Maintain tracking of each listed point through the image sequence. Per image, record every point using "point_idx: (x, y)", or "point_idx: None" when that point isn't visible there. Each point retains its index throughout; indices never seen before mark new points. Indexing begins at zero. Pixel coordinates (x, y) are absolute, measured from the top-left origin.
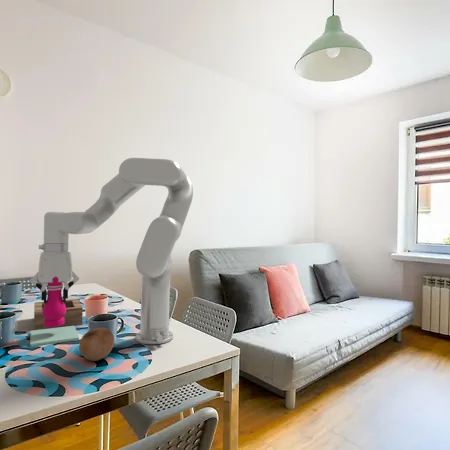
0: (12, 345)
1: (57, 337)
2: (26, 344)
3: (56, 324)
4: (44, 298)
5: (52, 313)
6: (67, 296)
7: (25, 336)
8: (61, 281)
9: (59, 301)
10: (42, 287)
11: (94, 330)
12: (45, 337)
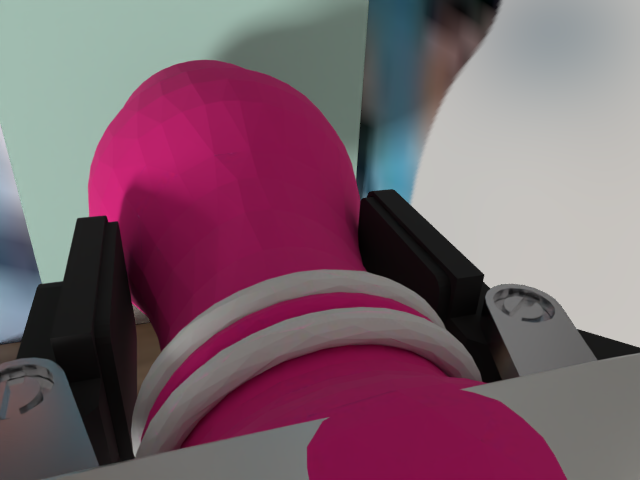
0: (460, 28)
1: (167, 15)
2: (383, 6)
3: (187, 66)
4: (416, 216)
5: (252, 75)
6: (42, 294)
7: (376, 190)
8: (177, 450)
9: (180, 193)
10: (562, 335)
11: None
12: (262, 60)
